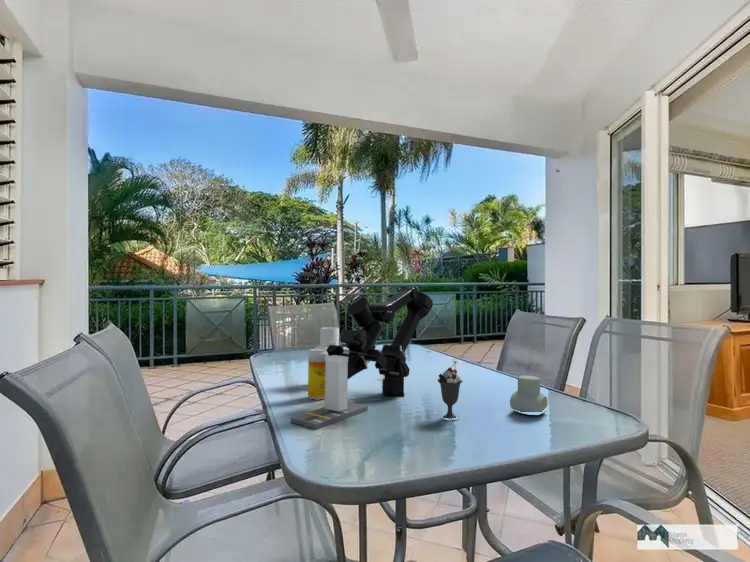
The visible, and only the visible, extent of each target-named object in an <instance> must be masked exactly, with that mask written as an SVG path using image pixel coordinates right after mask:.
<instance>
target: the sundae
mask: <svg viewBox="0 0 750 562" xmlns="http://www.w3.org/2000/svg"><path fill="white" fill-rule="evenodd" d="M455 364H457V361H454V363H453V365H451V366H450V367H448V368H447V369H446V370H444V371H443V373H440V374H439V375H438V379H437V382H438V384H439V385H440V393H441V399H442V402H443V403H444V404H445V405H446V406H447V413H446V414H444V416H443V415H442V416H443V418H449V419H450V418H451V419H452V418H456V415H455V414H454V413H453V406H454V405H456V403H457V402H458V399H459V395H460V387H461V384H462V383H463V380H462V379H461V377H460V375H459V374H458V370H457V368H454V369H453V368H452V367H453V366H455Z"/></svg>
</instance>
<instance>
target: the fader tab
mask: <svg viewBox="0 0 750 562" xmlns="http://www.w3.org/2000/svg"><path fill="white" fill-rule="evenodd" d="M325 361H326V372H325V399H324V401H325V402H324V407H325V409H329V410H334V411H338V412H339V411H342V410H345V409H347V402H348V380H347V377H348V357H346V356H338V355H332V356H326V357H325Z"/></svg>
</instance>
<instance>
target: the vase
mask: <svg viewBox="0 0 750 562" xmlns="http://www.w3.org/2000/svg"><path fill="white" fill-rule="evenodd" d="M339 331H340V327H335V326H334V327H333V326H327V327H320V332H319V334H320V335H319V336H320V337H319V345H318V346H315V348H314V349H326V350H327V349H328V347H329V345H340V344H339V343H340V337H339V336H340V332H339ZM328 356H329V354H328Z"/></svg>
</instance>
